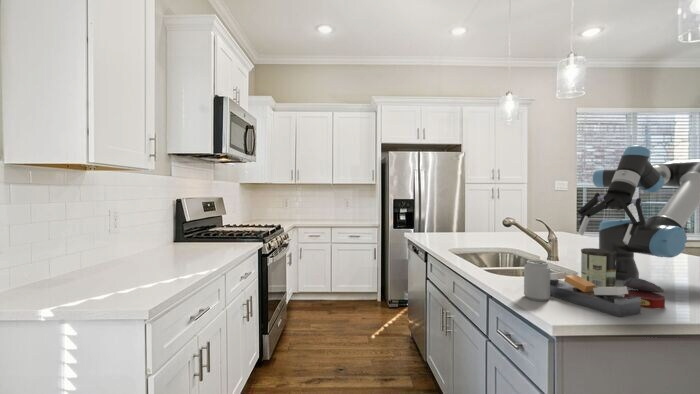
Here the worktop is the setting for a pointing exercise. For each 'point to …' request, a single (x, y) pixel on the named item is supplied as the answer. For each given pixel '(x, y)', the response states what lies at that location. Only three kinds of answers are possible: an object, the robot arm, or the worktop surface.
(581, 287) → the orange rectangular block
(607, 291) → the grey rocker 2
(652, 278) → the worktop surface
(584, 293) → the dark grey tray
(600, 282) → the coffee can
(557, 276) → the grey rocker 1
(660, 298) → the canned food
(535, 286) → the can
